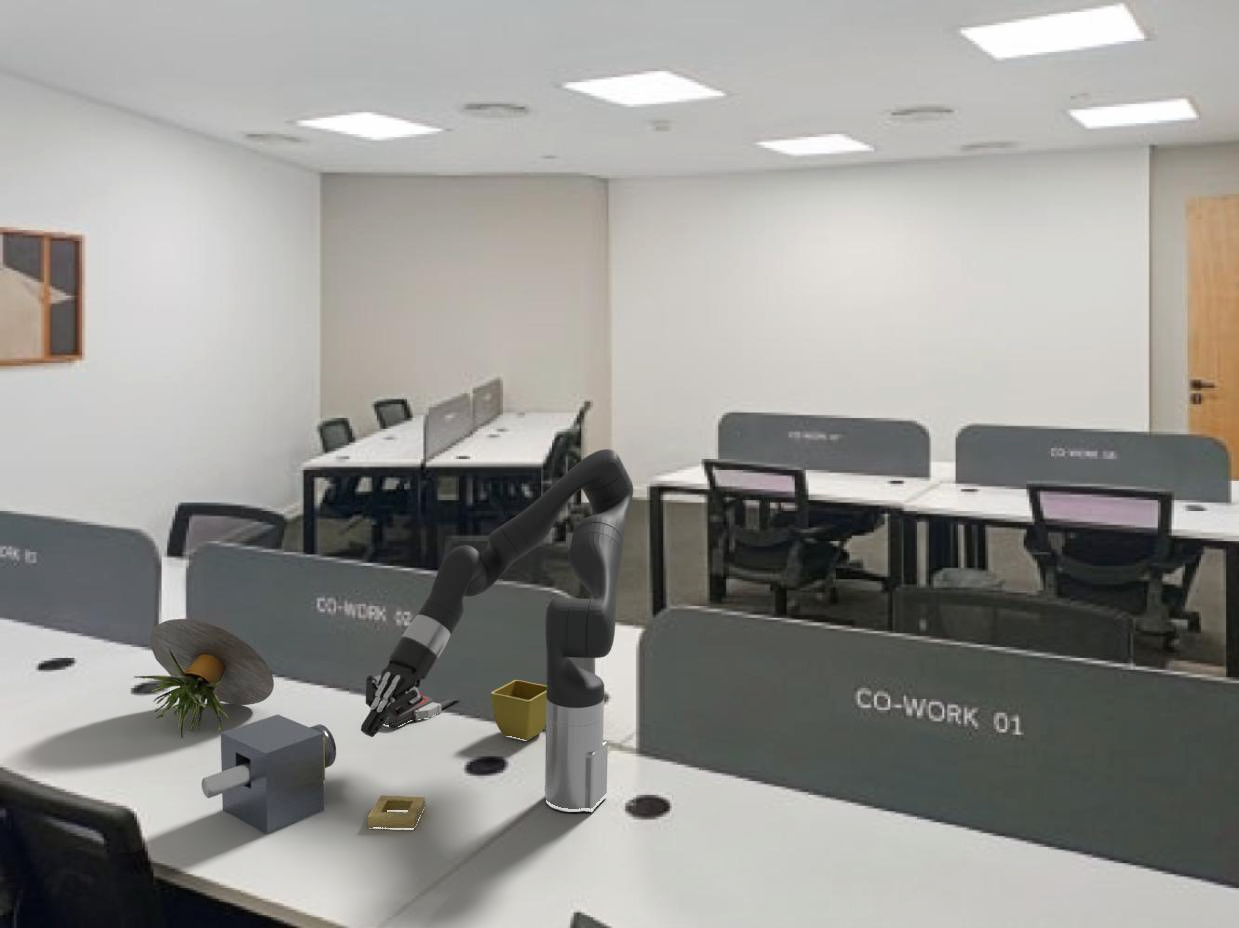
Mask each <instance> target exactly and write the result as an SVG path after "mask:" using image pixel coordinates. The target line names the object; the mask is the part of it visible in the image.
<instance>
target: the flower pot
mask: <svg viewBox="0 0 1239 928" xmlns="http://www.w3.org/2000/svg"><path fill="white" fill-rule="evenodd" d="M546 692H547V684H546V685H545V684H540V683H539V684H538V683H534V682H529V681H525V680H520V679H519V680H518V679H514V680H512V681H511V682H508V683H506V684H504V685H503V686H500V687H499V688H497V689H495V690H493V691H491V692H490V699H491V705H492V706H491V707H492V712H493V716H494V721H495V723H496V726H497V728H498V730H499V731H500V733H501V734H502V735H503V736H504V735H505V736H512V737H516V738H520V739H524V740H528V739H530V738H531V737H533V736H535V735H537V734H538V735H540V734H541V733H542V731H543V730H544V728H546V698H547V697H546ZM538 735H537V736H538ZM505 736H504V737H505ZM535 737H536V736H535ZM533 738H534V737H533ZM530 740H531V739H530Z"/></svg>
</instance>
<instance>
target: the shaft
mask: <svg viewBox="0 0 1239 928" xmlns="http://www.w3.org/2000/svg"><path fill="white" fill-rule="evenodd" d="M308 727H309V728H312V729H314V730H317V731H319V732H321V733H323V737H324V738H325V769H327V768H330V767H331V766H332V765H333V764H335V761H336V757H337V747H336V746H337V745H336V742H335V738H334V736H333V734H332V733H331V731H330V730H329V728H327V727H326V726H325V725H324V724H315V725H311V726H308ZM249 783H251V761H250V762H248V763H245V764H242V765H239V766H236V767H234V768H231V769H228V770H225V771H222V770H221V771H220V772H217V773H215V774H210V775H209V776H205V777H203V778H202V780H201V789H202V790H201V791H202V792H203V795H204V796H205V797H206V798H207V799H210V798H214V797H216V796H219V795H222V793H224V792H227V791H230V790H232V789H235V788H238V787H240V786H243V785H246V784H249Z"/></svg>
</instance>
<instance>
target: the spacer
mask: <svg viewBox="0 0 1239 928" xmlns="http://www.w3.org/2000/svg"><path fill="white" fill-rule="evenodd" d="M424 807H425V808H426V797H425V796H407V795H405V796H404V795H403V796H402V795H400V796H399V795H380V796H379V798H378V799H377V801H376V803H375V804H374V805H373V807H372V809H371V811H370V812H369V814H368V816H367V828H368V827H369V828H373V827H381V828H382V827H383V828H385V827H386V828H414V827H415V826H416V824H417V822H418V819H419V817H420V815H421V814H422V811H423V809H424ZM387 810H408V812H407V813H392V812H387ZM422 815H423V814H422ZM418 823H419V822H418ZM417 825H418V824H417ZM416 827H417V826H416Z"/></svg>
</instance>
